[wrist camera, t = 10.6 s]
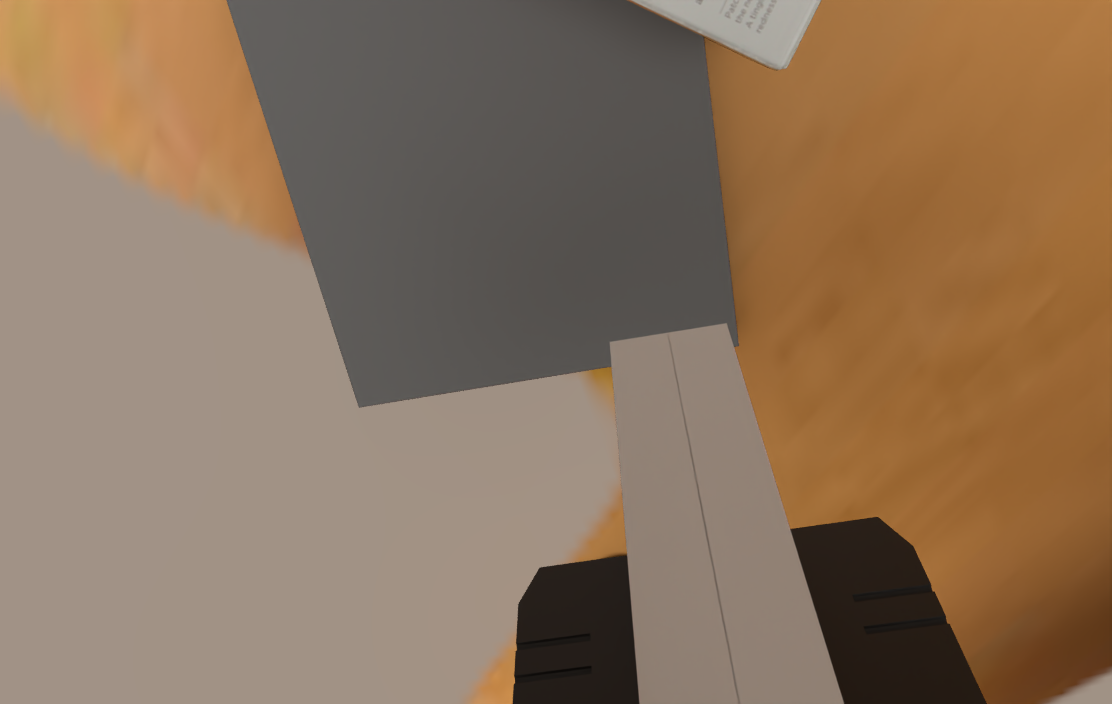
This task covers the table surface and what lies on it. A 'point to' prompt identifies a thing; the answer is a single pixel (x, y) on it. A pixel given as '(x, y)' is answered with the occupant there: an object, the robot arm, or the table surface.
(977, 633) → the table surface
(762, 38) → the small box
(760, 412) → the table surface
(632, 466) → the robot arm
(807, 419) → the table surface
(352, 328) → the mat
